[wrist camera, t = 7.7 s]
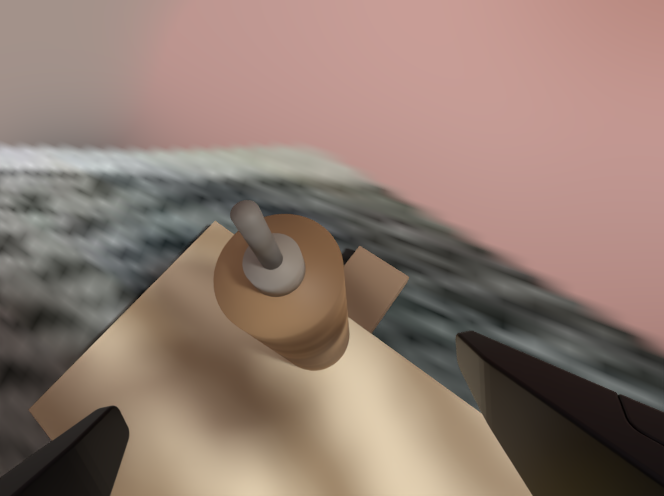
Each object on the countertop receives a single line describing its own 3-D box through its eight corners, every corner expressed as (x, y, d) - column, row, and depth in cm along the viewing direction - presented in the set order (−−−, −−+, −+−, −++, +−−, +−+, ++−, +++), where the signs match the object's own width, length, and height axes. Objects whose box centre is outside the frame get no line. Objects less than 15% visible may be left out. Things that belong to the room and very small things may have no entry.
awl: (313, 386, 17) (226, 349, 6) (266, 334, 18) (118, 216, 7) (364, 333, 18) (377, 208, 7) (316, 287, 19) (258, 115, 8)
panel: (411, 1164, 9) (417, 1247, 8) (-22, 477, 17) (-43, 481, 16) (656, 441, 16) (674, 444, 15) (260, 187, 24) (256, 179, 23)
